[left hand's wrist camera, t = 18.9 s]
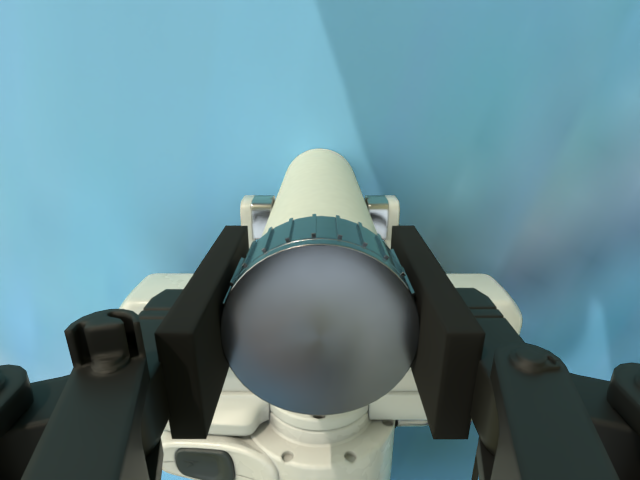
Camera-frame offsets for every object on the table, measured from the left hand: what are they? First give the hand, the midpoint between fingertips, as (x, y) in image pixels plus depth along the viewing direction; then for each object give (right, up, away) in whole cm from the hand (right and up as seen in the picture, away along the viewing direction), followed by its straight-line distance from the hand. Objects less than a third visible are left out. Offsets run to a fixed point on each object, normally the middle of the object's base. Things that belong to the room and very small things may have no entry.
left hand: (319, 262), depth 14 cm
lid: (0, -2, -4) cm, 4 cm away
